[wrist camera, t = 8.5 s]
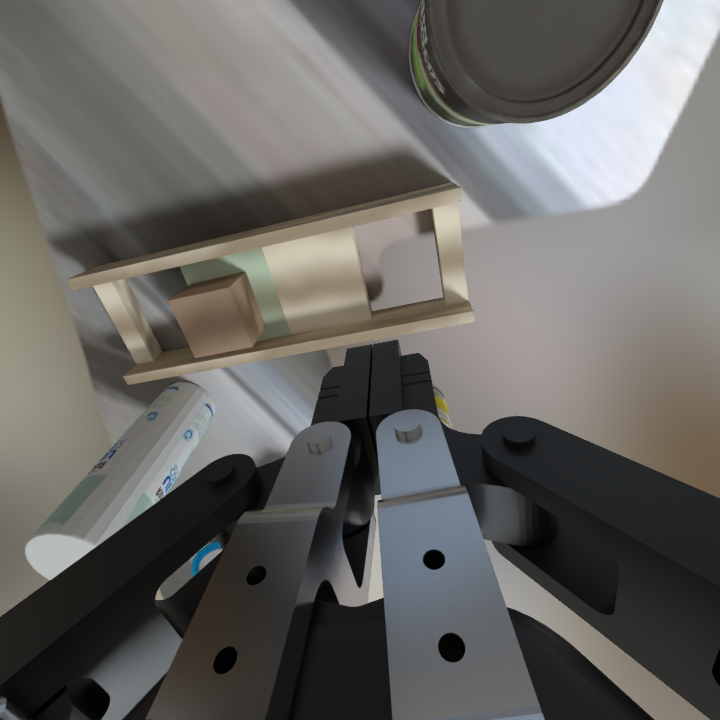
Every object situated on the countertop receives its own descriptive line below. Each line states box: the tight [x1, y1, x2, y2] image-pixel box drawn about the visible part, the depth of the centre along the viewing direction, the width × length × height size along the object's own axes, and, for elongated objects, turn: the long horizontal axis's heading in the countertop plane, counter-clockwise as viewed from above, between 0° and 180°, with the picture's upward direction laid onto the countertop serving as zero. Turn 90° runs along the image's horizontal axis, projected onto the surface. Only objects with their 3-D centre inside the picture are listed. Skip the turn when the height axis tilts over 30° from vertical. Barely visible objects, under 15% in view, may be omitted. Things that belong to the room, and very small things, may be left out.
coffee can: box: [409, 0, 664, 128], centre depth 23 cm, size 10×10×14 cm
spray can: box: [25, 382, 215, 580], centre depth 38 cm, size 6×6×20 cm
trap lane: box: [67, 182, 475, 385], centre depth 37 cm, size 11×34×4 cm, turn 103°
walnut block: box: [168, 272, 266, 358], centre depth 36 cm, size 6×6×4 cm
